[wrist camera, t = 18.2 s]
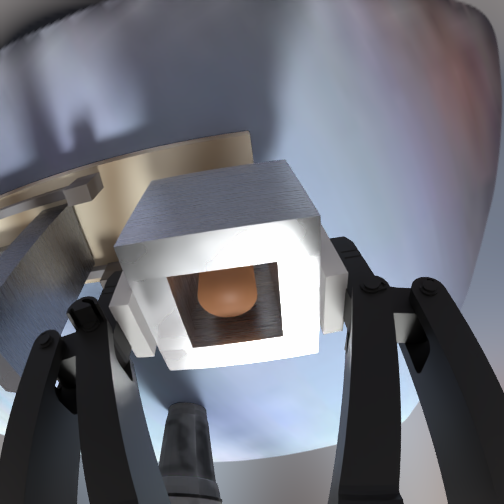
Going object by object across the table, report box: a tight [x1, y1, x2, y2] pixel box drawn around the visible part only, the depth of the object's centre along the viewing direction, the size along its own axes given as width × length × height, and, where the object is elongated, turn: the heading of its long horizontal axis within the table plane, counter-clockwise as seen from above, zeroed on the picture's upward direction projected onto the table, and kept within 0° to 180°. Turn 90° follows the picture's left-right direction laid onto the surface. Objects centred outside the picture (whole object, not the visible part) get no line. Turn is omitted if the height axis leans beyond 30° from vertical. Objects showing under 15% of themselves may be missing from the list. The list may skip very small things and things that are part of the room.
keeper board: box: [0, 131, 257, 317], centre depth 15 cm, size 34×8×9 cm, turn 97°
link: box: [114, 160, 321, 371], centre depth 13 cm, size 6×6×6 cm
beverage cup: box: [159, 402, 222, 504], centre depth 24 cm, size 7×7×20 cm
